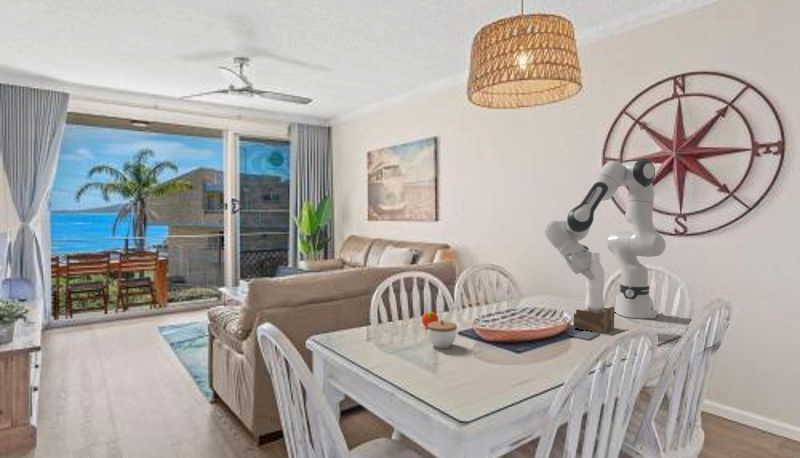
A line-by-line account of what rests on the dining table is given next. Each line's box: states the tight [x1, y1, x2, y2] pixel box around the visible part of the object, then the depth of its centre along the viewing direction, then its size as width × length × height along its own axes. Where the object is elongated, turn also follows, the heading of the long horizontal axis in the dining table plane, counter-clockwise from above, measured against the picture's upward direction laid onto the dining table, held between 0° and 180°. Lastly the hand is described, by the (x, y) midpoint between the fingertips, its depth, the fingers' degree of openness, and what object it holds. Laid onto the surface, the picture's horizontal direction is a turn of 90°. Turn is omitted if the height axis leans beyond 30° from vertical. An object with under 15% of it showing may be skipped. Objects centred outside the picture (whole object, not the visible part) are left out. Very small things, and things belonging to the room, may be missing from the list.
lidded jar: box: [426, 319, 458, 349], centre depth 165 cm, size 11×11×9 cm
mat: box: [573, 330, 601, 341], centre depth 179 cm, size 11×11×1 cm
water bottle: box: [584, 252, 606, 313], centre depth 188 cm, size 7×7×25 cm
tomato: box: [421, 311, 439, 329], centre depth 189 cm, size 8×7×7 cm
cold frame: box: [573, 306, 616, 335], centre depth 189 cm, size 12×12×9 cm
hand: (596, 277), depth 188 cm, fingers closed on water bottle, 7 cm apart
